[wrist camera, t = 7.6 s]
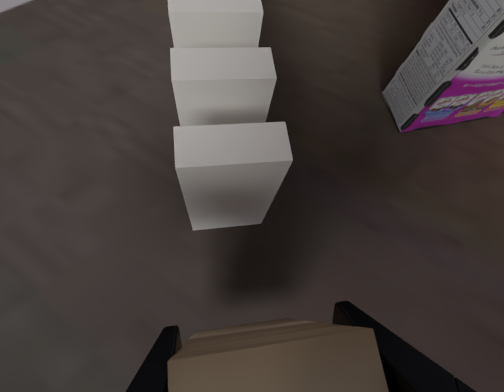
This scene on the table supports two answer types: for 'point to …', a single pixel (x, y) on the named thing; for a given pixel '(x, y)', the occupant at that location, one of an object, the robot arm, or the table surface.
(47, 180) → the table surface
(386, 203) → the table surface
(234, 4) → the domino
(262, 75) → the domino
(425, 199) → the table surface
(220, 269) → the table surface
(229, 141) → the domino
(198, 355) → the domino
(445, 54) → the candy bar box
